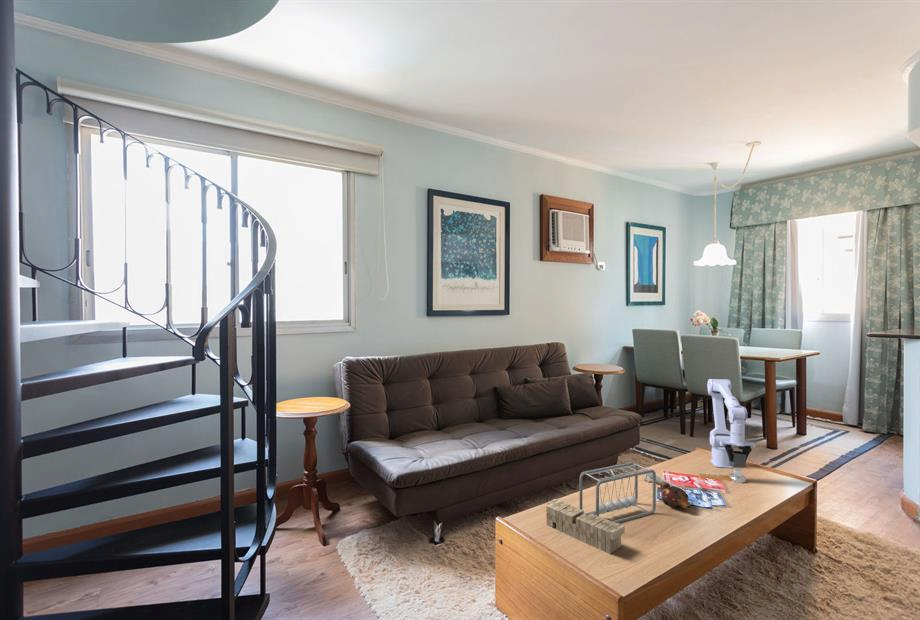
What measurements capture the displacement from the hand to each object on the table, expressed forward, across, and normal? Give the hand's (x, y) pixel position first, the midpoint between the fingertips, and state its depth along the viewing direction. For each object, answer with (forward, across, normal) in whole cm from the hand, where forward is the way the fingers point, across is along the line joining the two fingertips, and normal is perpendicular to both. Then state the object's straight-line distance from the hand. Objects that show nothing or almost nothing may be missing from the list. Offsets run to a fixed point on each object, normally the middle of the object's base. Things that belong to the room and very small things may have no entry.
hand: (737, 461), depth 209 cm
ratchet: (+9, -7, 0) cm, 11 cm away
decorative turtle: (+9, -36, -34) cm, 50 cm away
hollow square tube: (+2, 0, 0) cm, 2 cm away
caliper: (+9, -35, -15) cm, 39 cm away
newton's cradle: (+9, -60, -47) cm, 77 cm away
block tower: (+9, -75, -65) cm, 100 cm away
